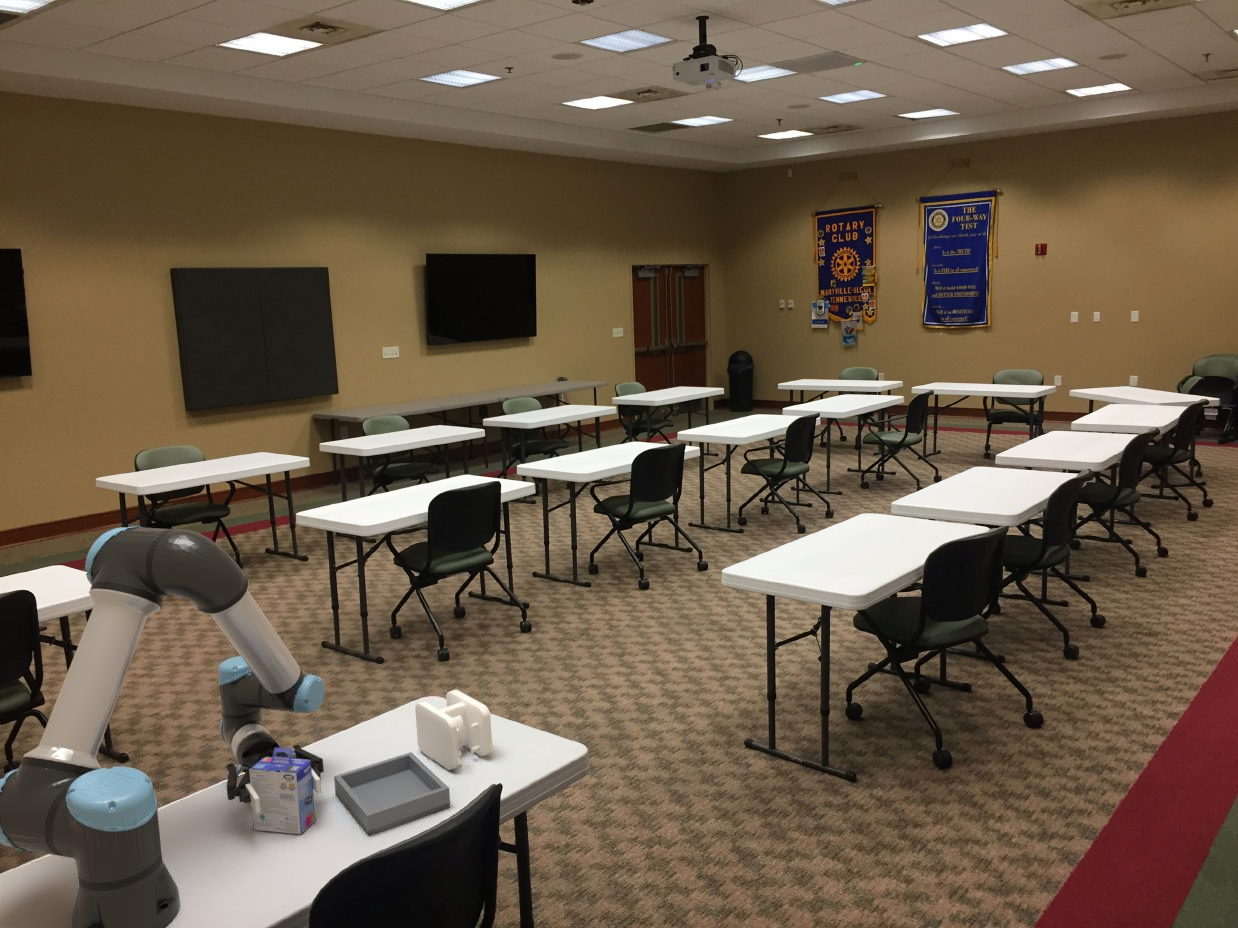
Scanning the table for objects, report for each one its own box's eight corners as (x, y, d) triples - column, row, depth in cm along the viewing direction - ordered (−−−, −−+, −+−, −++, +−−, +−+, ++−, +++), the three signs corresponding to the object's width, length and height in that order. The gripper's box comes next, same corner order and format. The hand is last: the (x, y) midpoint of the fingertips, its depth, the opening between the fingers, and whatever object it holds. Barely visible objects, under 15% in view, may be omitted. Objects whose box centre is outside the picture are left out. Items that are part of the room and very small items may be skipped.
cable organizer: (415, 750, 202) (411, 699, 200) (457, 734, 209) (454, 685, 207) (452, 775, 191) (449, 722, 189) (495, 758, 198) (493, 706, 196)
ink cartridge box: (317, 819, 176) (311, 746, 174) (302, 835, 171) (295, 761, 168) (269, 814, 178) (263, 743, 176) (253, 830, 173) (245, 757, 170)
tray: (368, 836, 170) (367, 815, 169) (335, 794, 185) (333, 775, 184) (450, 807, 179) (449, 787, 178) (412, 770, 194) (411, 751, 193)
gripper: (314, 750, 195) (352, 794, 177) (197, 784, 182) (224, 836, 164) (311, 716, 193) (349, 757, 175) (193, 748, 181) (220, 796, 163)
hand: (288, 795), depth 170 cm, fingers closed on ink cartridge box, 10 cm apart
